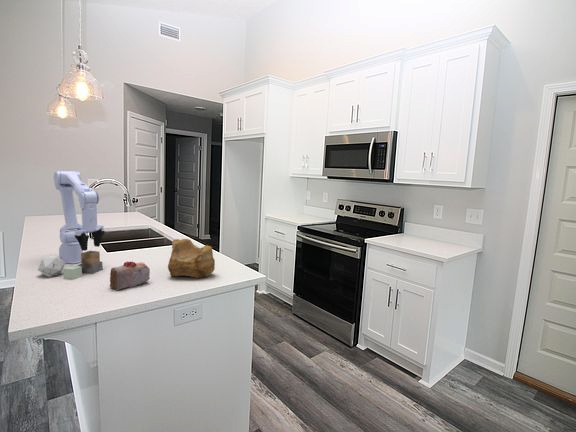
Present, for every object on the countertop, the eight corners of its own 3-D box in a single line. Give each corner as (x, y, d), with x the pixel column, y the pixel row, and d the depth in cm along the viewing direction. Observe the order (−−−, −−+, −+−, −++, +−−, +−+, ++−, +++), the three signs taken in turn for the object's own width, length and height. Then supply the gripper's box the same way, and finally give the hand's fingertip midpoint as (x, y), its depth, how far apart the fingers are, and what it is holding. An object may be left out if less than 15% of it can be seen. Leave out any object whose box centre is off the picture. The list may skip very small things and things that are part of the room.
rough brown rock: (153, 275, 145) (151, 244, 142) (181, 264, 160) (180, 235, 156) (191, 288, 135) (190, 254, 131) (218, 274, 149) (217, 244, 145)
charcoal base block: (79, 273, 143) (78, 264, 142) (89, 269, 149) (88, 260, 148) (93, 274, 142) (92, 265, 142) (102, 270, 149) (102, 261, 148)
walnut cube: (81, 264, 143) (81, 253, 142) (89, 261, 148) (89, 250, 147) (91, 265, 142) (91, 254, 141) (99, 262, 147) (99, 251, 146)
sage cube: (64, 278, 135) (63, 268, 134) (72, 275, 139) (72, 265, 139) (73, 279, 134) (73, 269, 134) (81, 276, 139) (81, 266, 138)
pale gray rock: (34, 279, 134) (42, 263, 131) (37, 264, 140) (45, 248, 137) (57, 283, 139) (66, 267, 136) (60, 268, 146) (68, 252, 142)
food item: (141, 278, 139) (140, 256, 138) (151, 283, 134) (151, 260, 133) (108, 287, 128) (107, 263, 127) (118, 292, 123) (117, 267, 122)
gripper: (85, 221, 135) (86, 253, 137) (109, 216, 149) (110, 245, 151) (70, 220, 136) (71, 251, 138) (95, 215, 150) (96, 244, 152)
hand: (90, 248), depth 145 cm, fingers open, 7 cm apart
